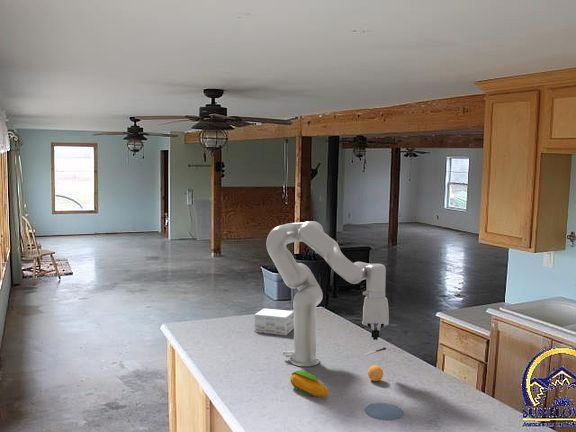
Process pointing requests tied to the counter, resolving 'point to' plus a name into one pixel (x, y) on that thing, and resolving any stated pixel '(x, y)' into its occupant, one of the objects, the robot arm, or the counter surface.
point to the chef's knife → (374, 351)
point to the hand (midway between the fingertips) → (375, 339)
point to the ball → (375, 373)
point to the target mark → (384, 411)
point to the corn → (308, 383)
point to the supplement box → (274, 321)
